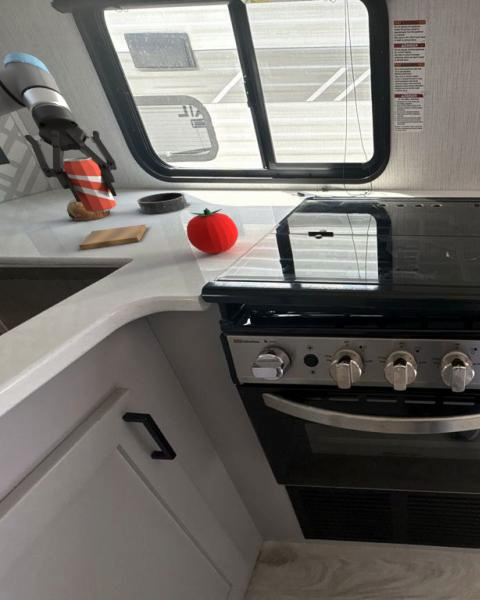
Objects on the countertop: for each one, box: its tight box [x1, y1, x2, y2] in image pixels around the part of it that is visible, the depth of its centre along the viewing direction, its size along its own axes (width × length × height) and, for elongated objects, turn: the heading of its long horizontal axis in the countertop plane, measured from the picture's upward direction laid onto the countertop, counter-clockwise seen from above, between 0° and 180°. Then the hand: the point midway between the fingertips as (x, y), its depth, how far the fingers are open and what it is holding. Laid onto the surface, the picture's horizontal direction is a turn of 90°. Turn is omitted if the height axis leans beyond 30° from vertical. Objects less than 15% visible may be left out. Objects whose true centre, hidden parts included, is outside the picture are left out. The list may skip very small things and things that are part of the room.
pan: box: [136, 191, 188, 215], centre depth 110 cm, size 13×13×4 cm
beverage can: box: [63, 156, 117, 213], centre depth 80 cm, size 6×6×12 cm
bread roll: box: [66, 197, 111, 222], centre depth 102 cm, size 10×10×8 cm
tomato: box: [186, 207, 239, 255], centre depth 76 cm, size 10×10×10 cm
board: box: [78, 224, 147, 250], centre depth 87 cm, size 12×11×1 cm
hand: (96, 195), depth 79 cm, fingers closed on beverage can, 6 cm apart
